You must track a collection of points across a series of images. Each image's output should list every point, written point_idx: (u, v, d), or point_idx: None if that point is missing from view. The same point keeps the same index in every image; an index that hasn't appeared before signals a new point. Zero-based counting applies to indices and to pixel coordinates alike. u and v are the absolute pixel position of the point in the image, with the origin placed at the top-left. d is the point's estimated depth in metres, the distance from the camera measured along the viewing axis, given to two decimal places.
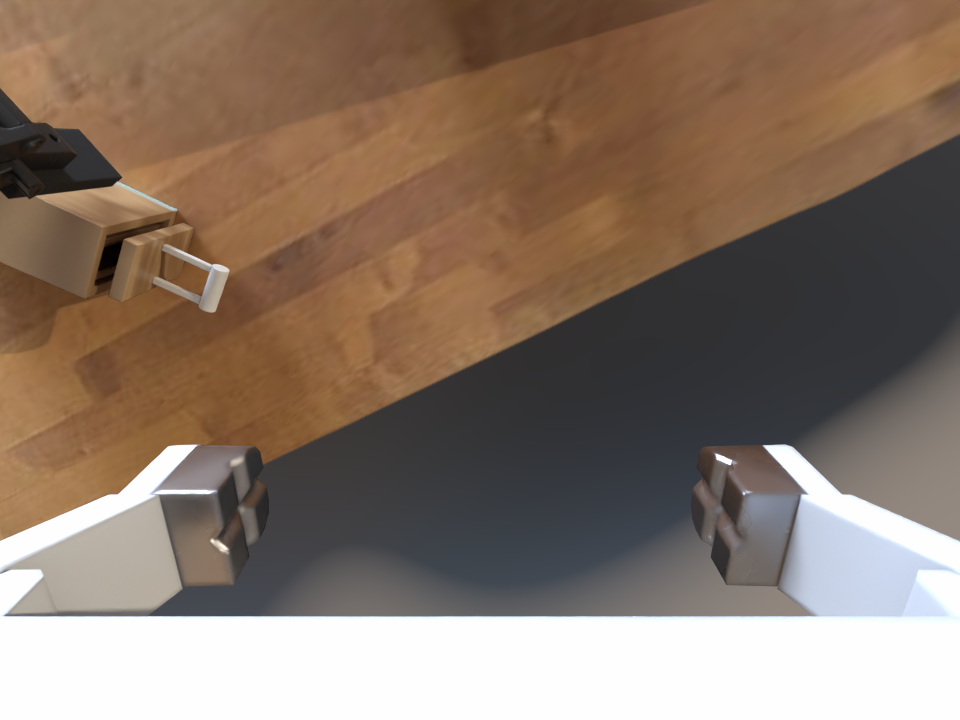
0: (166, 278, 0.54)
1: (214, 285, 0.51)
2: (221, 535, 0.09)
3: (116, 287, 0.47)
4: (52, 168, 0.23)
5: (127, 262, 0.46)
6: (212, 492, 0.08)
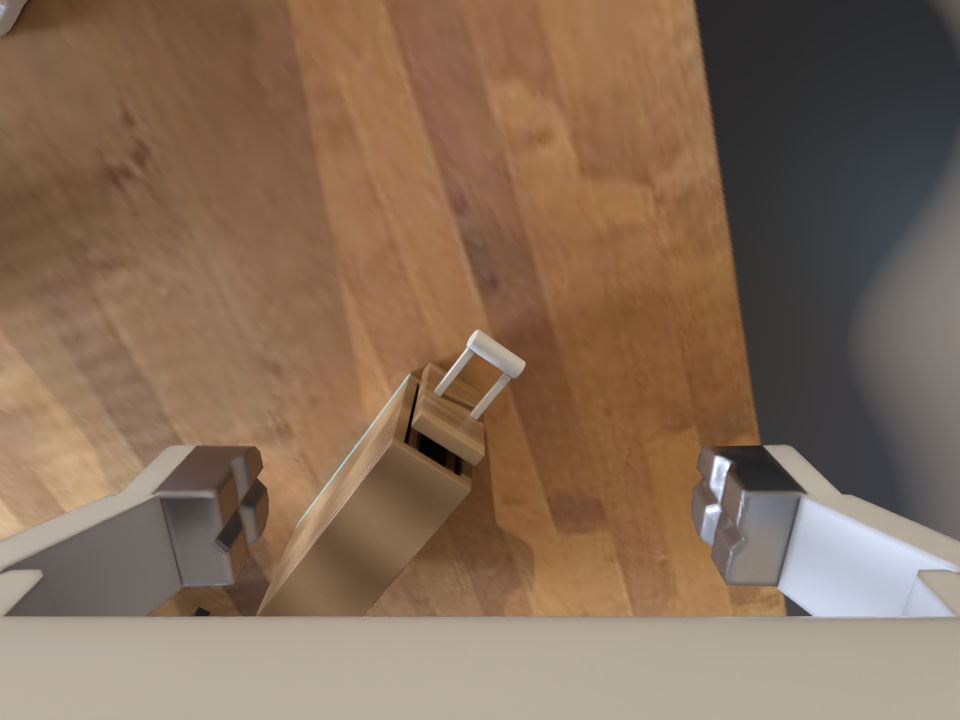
0: None
1: (490, 350, 0.40)
2: (221, 535, 0.09)
3: (466, 454, 0.39)
4: None
5: (438, 432, 0.38)
6: (212, 492, 0.08)
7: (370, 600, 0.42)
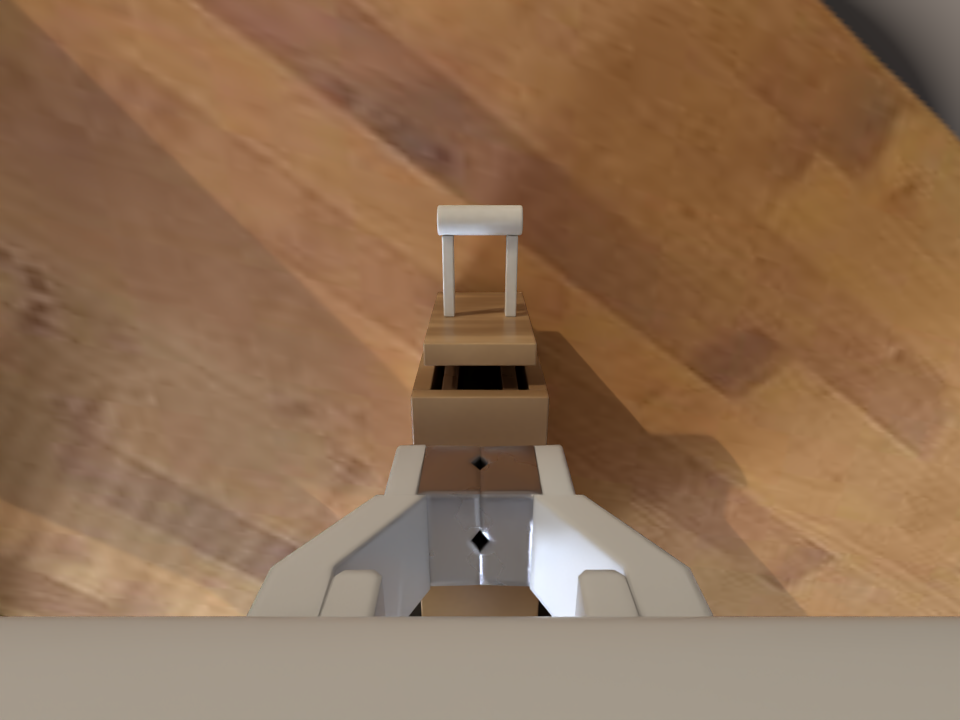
0: (516, 303, 0.33)
1: (466, 218, 0.28)
2: None
3: (512, 357, 0.27)
4: None
5: (460, 351, 0.27)
6: (476, 492, 0.08)
7: (531, 599, 0.31)
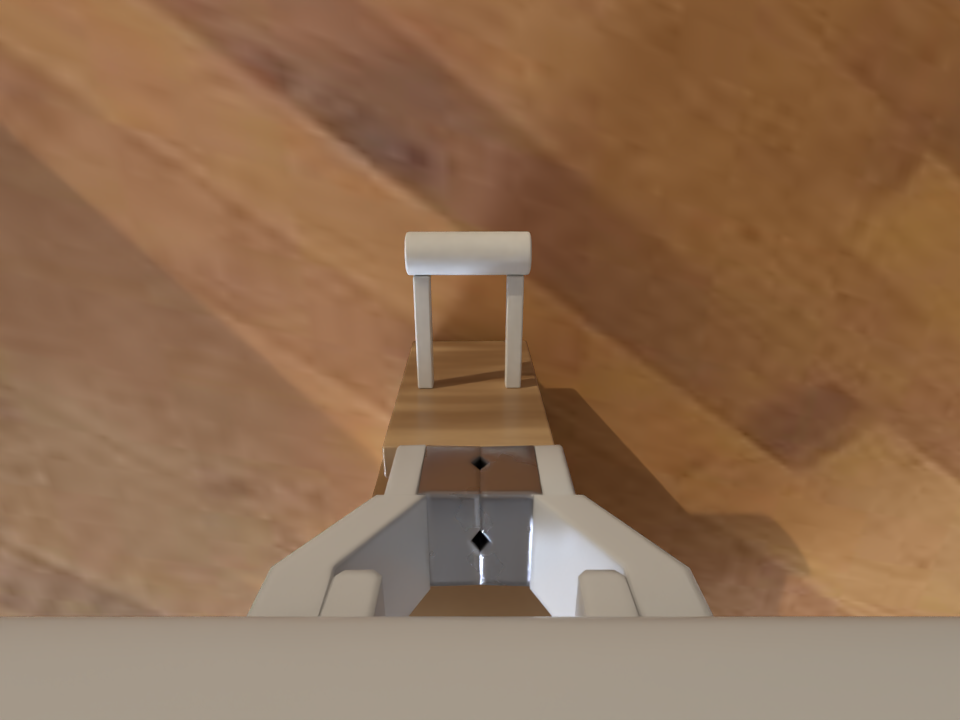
0: None
1: (448, 251, 0.19)
2: None
3: None
4: None
5: None
6: (476, 492, 0.08)
7: None
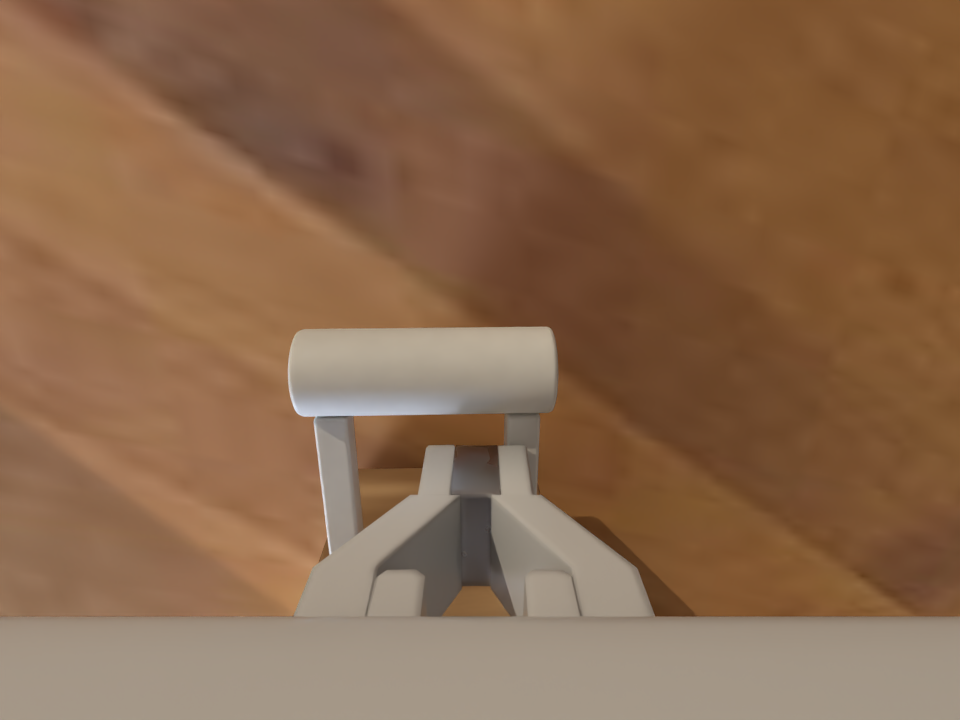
0: None
1: (381, 376, 0.09)
2: None
3: None
4: None
5: None
6: (510, 492, 0.08)
7: None
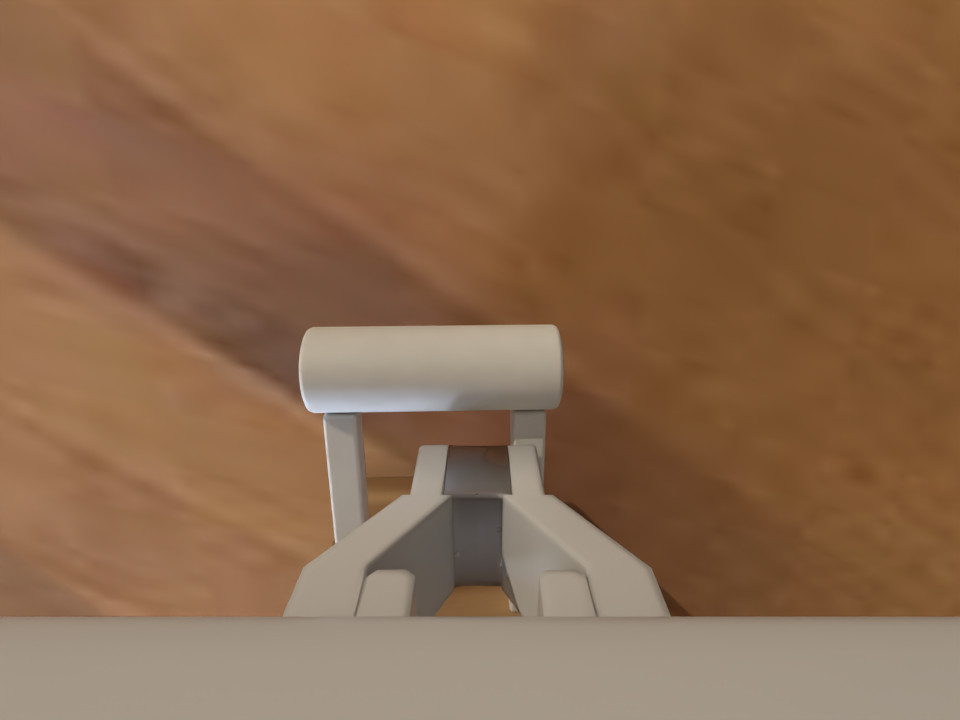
0: None
1: (390, 370, 0.09)
2: None
3: None
4: None
5: None
6: (502, 492, 0.08)
7: None
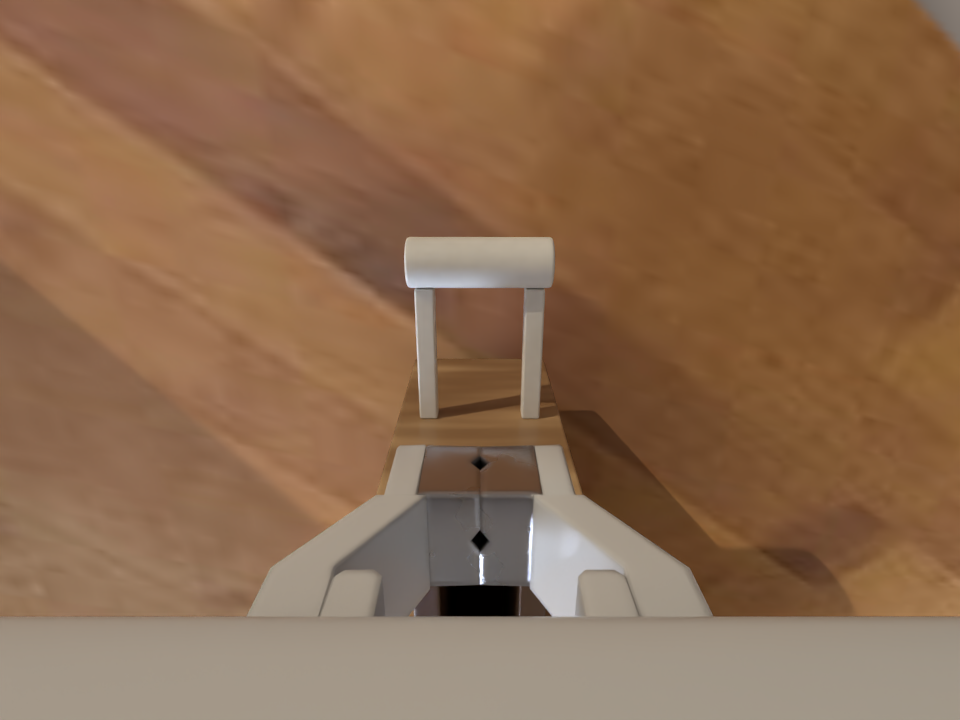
0: None
1: (456, 260, 0.16)
2: None
3: None
4: None
5: None
6: (476, 492, 0.08)
7: None
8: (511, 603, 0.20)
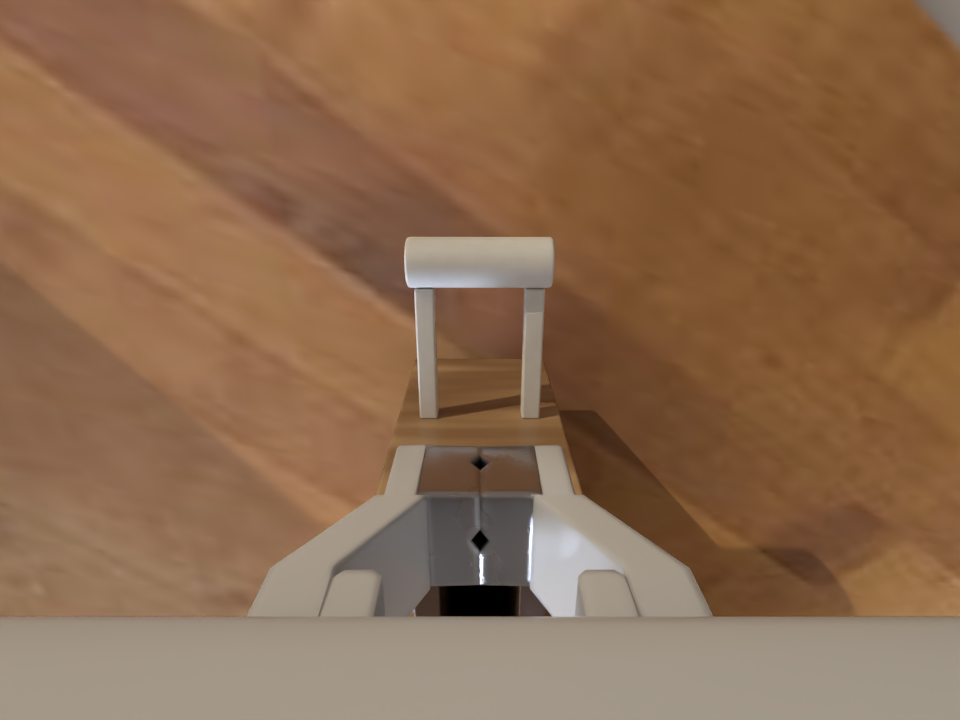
0: None
1: (456, 260, 0.16)
2: None
3: None
4: None
5: None
6: (476, 492, 0.08)
7: None
8: (511, 603, 0.20)
